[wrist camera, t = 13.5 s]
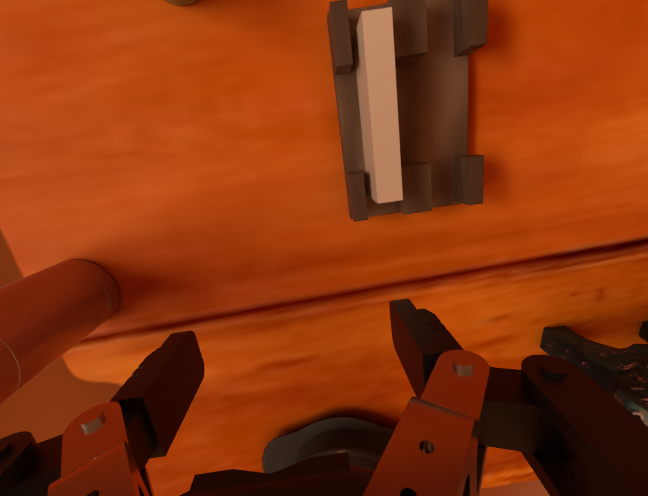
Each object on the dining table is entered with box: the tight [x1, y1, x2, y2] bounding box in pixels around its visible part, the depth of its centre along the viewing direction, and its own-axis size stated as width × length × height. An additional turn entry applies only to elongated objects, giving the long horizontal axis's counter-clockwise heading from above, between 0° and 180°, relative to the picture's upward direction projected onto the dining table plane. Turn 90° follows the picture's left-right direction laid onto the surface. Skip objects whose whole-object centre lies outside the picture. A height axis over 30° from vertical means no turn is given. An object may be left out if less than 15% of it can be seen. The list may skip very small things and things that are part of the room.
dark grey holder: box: [327, 0, 488, 221], centre depth 32 cm, size 14×21×5 cm, turn 8°
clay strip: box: [353, 7, 403, 204], centre depth 30 cm, size 2×16×6 cm, turn 8°
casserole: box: [262, 417, 395, 473], centre depth 46 cm, size 25×19×8 cm
